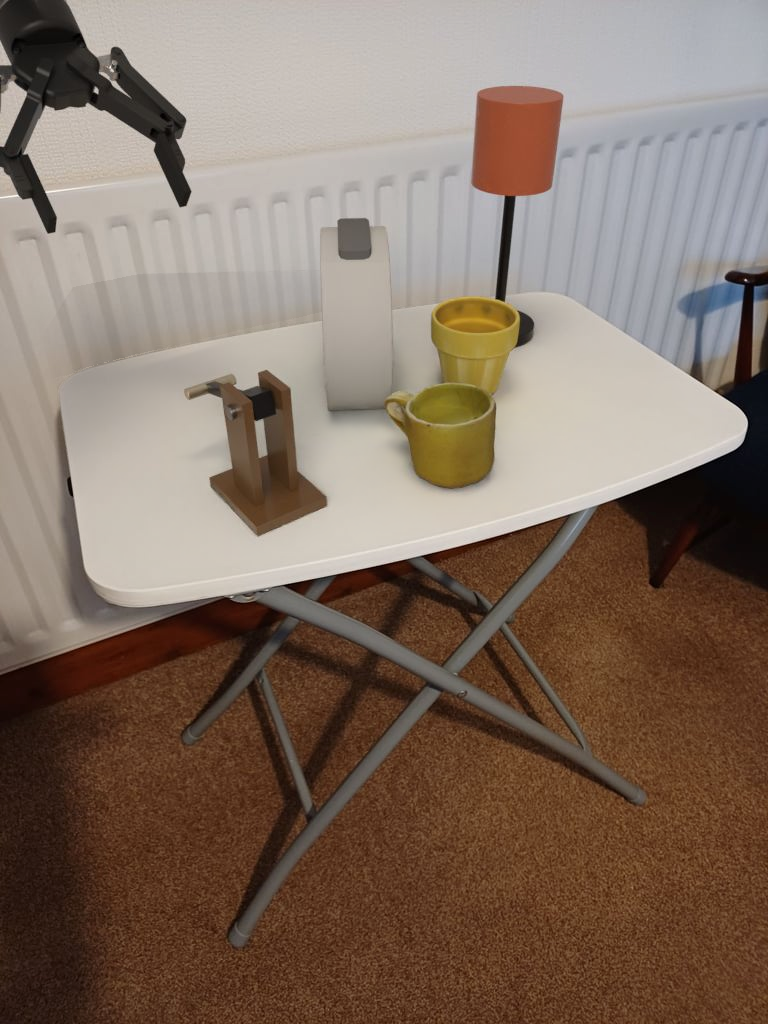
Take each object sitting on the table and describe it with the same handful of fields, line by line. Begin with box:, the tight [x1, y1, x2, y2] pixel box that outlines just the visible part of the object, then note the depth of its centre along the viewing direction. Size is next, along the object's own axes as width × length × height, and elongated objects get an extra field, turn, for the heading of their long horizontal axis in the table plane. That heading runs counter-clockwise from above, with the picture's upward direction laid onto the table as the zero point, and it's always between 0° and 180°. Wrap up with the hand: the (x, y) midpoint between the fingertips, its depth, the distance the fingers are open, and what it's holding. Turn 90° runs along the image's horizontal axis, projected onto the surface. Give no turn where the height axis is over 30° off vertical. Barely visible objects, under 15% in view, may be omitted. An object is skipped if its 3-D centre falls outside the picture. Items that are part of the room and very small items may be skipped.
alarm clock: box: [319, 217, 394, 411], centre depth 93 cm, size 21×8×20 cm, turn 3°
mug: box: [384, 382, 497, 489], centre depth 83 cm, size 12×10×10 cm
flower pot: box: [430, 296, 520, 395], centre depth 95 cm, size 10×10×10 cm
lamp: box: [470, 85, 564, 348], centre depth 101 cm, size 10×10×30 cm
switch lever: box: [183, 373, 276, 422], centre depth 78 cm, size 13×6×2 cm, turn 37°
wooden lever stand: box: [208, 369, 328, 537], centre depth 76 cm, size 10×8×13 cm
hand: (121, 212), depth 77 cm, fingers open, 13 cm apart
